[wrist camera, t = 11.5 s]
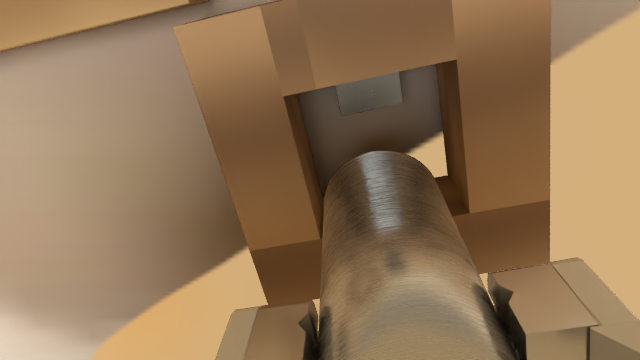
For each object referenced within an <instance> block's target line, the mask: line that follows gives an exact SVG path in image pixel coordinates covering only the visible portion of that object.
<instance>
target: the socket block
mask: <svg viewBox="0 0 640 360" xmlns="http://www.w3.org/2000/svg"><path fill="white" fill-rule="evenodd" d="M173 30H174V33H175V36H176V39H177V41H178V44H179V47H180V50H181V53H182V56H183V59H184V62H185V65H186V68H187V70H188V73H189V76H190V79H191V82H192V85H193V88H194V91H195V94H196V97H197V99H198V102H199V105H200V108H201V111H202V114H203V117H204V120H205V123H206V125H207V128H208V131H209V134H210V137H211V140H212V143H213V146H214V149H215V152H216V154H217V157H218V160H219V163H220V166H221V169H222V172H223V175H224V178H225V181H226V183H227V186H228V189H229V192H230V195H231V198H232V201H233V204H234V207H235V210H236V212H237V215H238V218H239V221H240V224H241V227H242V230H243V233H244V236H245V239H246V241H247V244H248V247H249V250H250V253H251V256H252V259H253V262H254V264H255V267H256V270H257V273H258V276H259V279H260V282H261V285H262V288H263V291H264V294H265V296H266V299H267V302H268V305H272V304H280V303H288V302H296V301H303V300H313V299H319V298H320V289H321V264H322V240H323V216H324V198H322V194H321V190H320V186H319V182H318V178H317V174H316V170H315V166H314V162H313V158H312V153H311V149H310V145H309V141H308V137H307V133H306V129H305V125H304V121H303V117H302V113H301V109H300V105H299V101H298V96H297V93H302V92H306V91H311V90H316V89H320V88H325V87H330V86H334V85H339V84H344V83H348V82H353V81H358V80H362V79H367V78H372V77H376V76H381V75H386V74H390V73H395V72H400V71H404V70H409V69H414V68H418V67H423V66H428V65H432V64H436V68H437V78H438V87H439V97H440V106H441V115H442V125H443V134H444V144H445V153H446V162H447V172H448V176H442V177H436V178H434V179H435V181H436V183H437V185H438V187H439V189H440V191H441V194H442V196H443V198H444V200H445V202H446V204H447V207H448V209H449V211H450V213H451V215H452V217H453V220H454V222H455V224H456V226H457V228H458V230H459V233H460V235H461V237H462V239H463V241H464V243H465V246H466V248H467V250H468V252H469V254H470V256H471V259H472V261H473V263H474V265H475V267H476V269H477V272H478V274H482V273H489V272H495V271H502V270H508V269H515V268H521V267H528V266H534V265H541V264H546V263H549V262H550V0H278V1H274V2H270V3H266V4H262V5H258V6H254V7H250V8H245V9H241V10H237V11H233V12H229V13H225V14H221V15H216V16H212V17H208V18H204V19H200V20H197V21H193V22H190V23H186V24H183V25H179V26H175V27H173Z"/></svg>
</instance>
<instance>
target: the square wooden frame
mask: <svg viewBox="0 0 640 360" xmlns="http://www.w3.org/2000/svg"><path fill="white" fill-rule="evenodd" d="M205 1H209V0H0V52H2V51H7V50H11V49H15V48H19V47H23V46H27V45H31V44H35V43H39V42H43V41H47V40H51V39H55V38H59V37H63V36H67V35H71V34H75V33H79V32H83V31H88V30H92V29H96V28H100V27H104V26H108V25H112V24H116V23H120V22H124V21H128V20H132V19H136V18H140V17H144V16H148V15H152V14H156V13H160V12H164V11H168V10H173V9H177V8H181V7H185V6H189V5H193V4H197V3H201V2H205Z"/></svg>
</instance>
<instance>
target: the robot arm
mask: <svg viewBox="0 0 640 360" xmlns="http://www.w3.org/2000/svg"><path fill="white" fill-rule="evenodd" d="M487 281H488V292H489V294H490V296H491V298H492V300H493V302H494V304H495V305H494V308H495V311H496V313H497V315H498V317H499V319H500V321H501V324H502V326H503V328H504V330H505V332H506V334H507V337H508V339H509V341H510V343H511V345H512V347H513V350H514V352H515V354H516V356H517V358H518V360H640V320H639V319H638V318H637V317H636V316H635V315H634V314H633V313H632V312H631V311H630V310H629V309H628V308H627V307H626V305H625V304H624V303H622V301H621V300H620V299H619V298H618V297H617V296H616V295H615V294H614V293H613V292H612V291H611V290H610V289H609V288H608V286H607V285H606V284H605V283H604V282H603V281H602V280H601V279H600V278H599V277H598V276H597V275H596V274H595V273H594V272H593V271H592V269H590V267H589V266H588V265H587V264H586V263H585V262H584V261H583V260H581V259H579V258H571V259H565V260H560V261H554V262H549V263H546V264H543V265H536V266H530V267H523V268H517V269H511V270H504V271H498V272H491V273H488V280H487ZM317 328H318V314H317V311H316V308H315V305H314V303H313V301H312V300H303V301H296V302H288V303H280V304H272V305H265V306H261V307H252V308H245V309H237V310H235V311H234V312H233V313H232V315H231V317H230V319H229V322H228V325H227V328H226V331H225V334H224V336H223V339H222V342H221V345H220V347H219V350H218V353H217V356H216V359H215V360H318V338H319V331H317Z"/></svg>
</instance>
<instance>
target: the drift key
mask: <svg viewBox="0 0 640 360" xmlns="http://www.w3.org/2000/svg"><path fill="white" fill-rule="evenodd" d="M335 86H336V91H337V96H338V101H339V106H340V111H341V116H344V115H349V114H353V113H358V112H363V111H368V110H373V109H378V108H383V107H388V106H393V105H397V104H402V103H403V100H402V93H401V86H400V79H399V72H395V73H390V74H386V75H381V76H376V77H372V78H367V79H362V80H358V81H353V82H348V83H344V84H339V85H335Z"/></svg>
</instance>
